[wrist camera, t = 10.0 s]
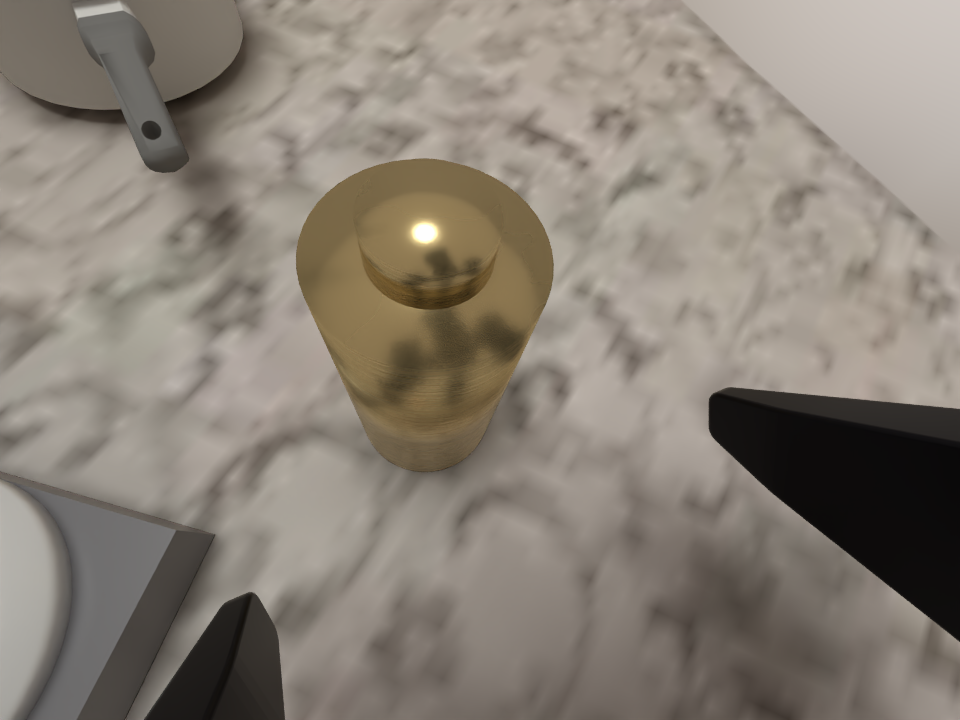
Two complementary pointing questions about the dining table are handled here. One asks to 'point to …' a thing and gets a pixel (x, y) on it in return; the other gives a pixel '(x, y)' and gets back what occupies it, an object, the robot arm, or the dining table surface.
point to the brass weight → (424, 300)
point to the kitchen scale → (84, 600)
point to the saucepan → (120, 59)
